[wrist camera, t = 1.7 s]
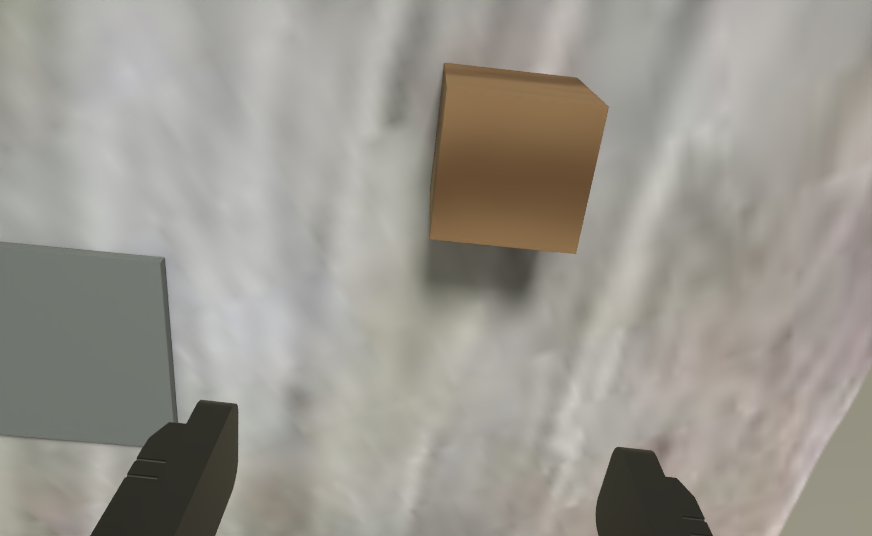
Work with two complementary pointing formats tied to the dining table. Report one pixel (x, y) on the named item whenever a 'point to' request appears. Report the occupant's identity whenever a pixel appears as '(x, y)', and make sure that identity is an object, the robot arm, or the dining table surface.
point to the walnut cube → (513, 158)
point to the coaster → (84, 345)
